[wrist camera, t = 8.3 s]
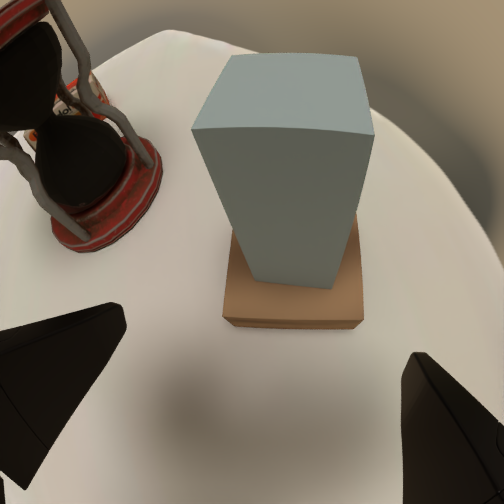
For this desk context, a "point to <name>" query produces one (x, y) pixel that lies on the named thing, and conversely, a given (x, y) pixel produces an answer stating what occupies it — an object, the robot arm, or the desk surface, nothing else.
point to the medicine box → (64, 109)
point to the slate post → (288, 159)
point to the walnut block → (295, 295)
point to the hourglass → (69, 133)
